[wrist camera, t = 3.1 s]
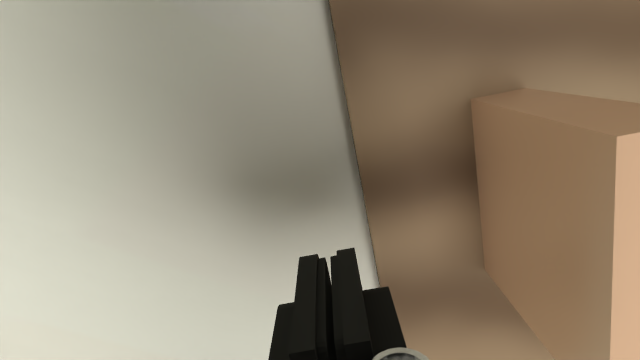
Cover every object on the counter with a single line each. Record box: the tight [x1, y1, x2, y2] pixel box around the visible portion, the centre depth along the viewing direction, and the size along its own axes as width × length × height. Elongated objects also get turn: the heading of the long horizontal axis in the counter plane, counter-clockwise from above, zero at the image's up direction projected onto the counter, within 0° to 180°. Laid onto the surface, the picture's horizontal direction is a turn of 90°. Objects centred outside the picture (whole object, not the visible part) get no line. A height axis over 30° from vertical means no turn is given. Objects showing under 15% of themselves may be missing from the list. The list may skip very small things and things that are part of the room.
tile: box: [471, 88, 640, 360], centre depth 13 cm, size 8×2×8 cm, turn 11°
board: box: [328, 0, 640, 360], centre depth 17 cm, size 20×21×1 cm
